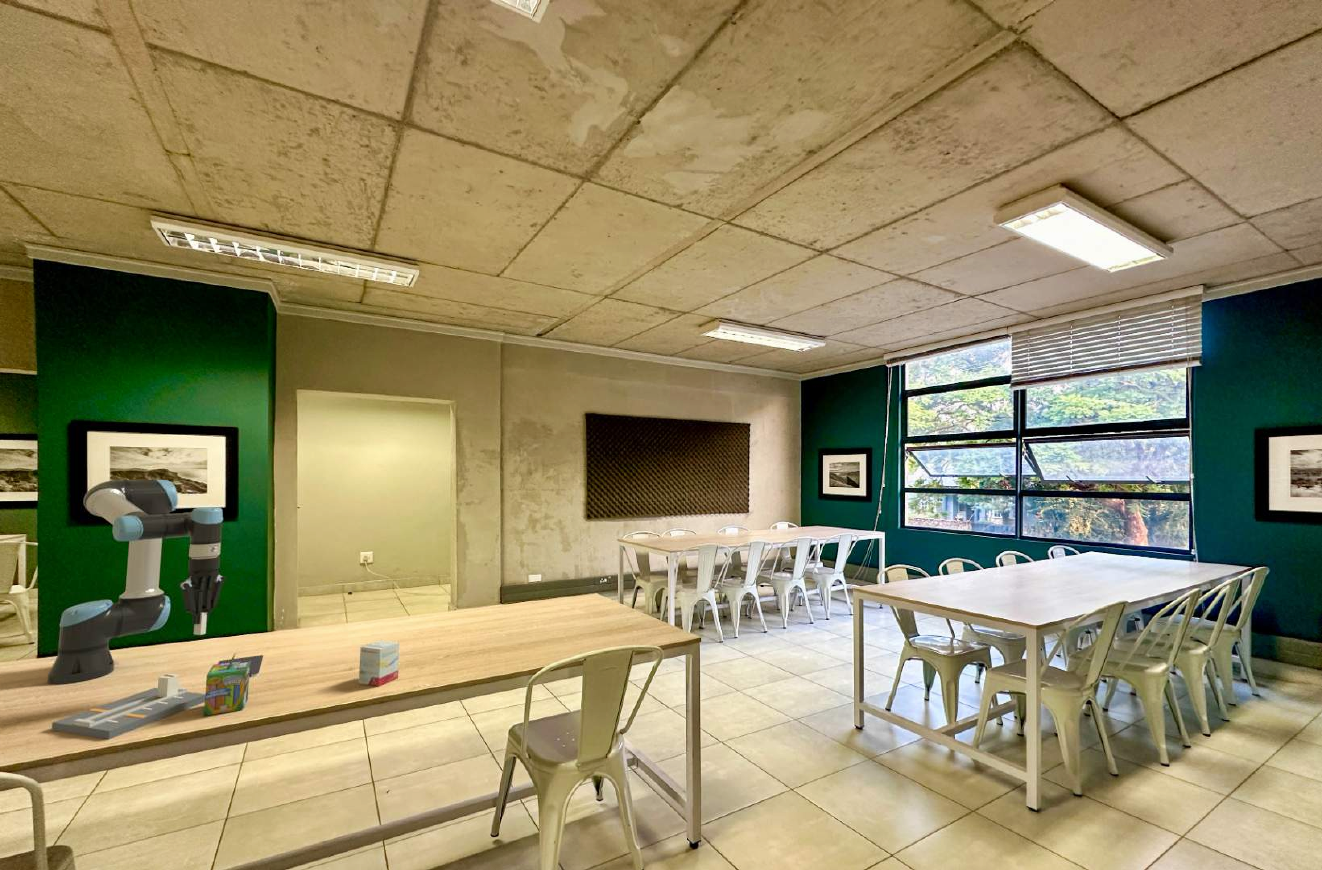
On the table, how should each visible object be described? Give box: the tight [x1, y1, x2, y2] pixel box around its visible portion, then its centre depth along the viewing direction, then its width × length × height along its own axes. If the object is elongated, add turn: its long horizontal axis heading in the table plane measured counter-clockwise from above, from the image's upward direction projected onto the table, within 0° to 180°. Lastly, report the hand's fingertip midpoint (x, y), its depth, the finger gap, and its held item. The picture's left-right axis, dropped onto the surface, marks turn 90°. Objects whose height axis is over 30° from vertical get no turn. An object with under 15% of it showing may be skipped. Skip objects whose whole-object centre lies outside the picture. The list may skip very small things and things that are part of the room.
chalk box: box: [203, 652, 251, 717], centre depth 159 cm, size 9×9×15 cm
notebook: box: [217, 654, 264, 678], centre depth 188 cm, size 13×2×21 cm
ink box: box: [358, 639, 400, 687], centre depth 180 cm, size 9×9×12 cm
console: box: [51, 686, 206, 740], centre depth 153 cm, size 20×24×3 cm
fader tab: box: [157, 673, 180, 697], centre depth 162 cm, size 4×3×6 cm
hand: (199, 634), depth 170 cm, fingers closed
